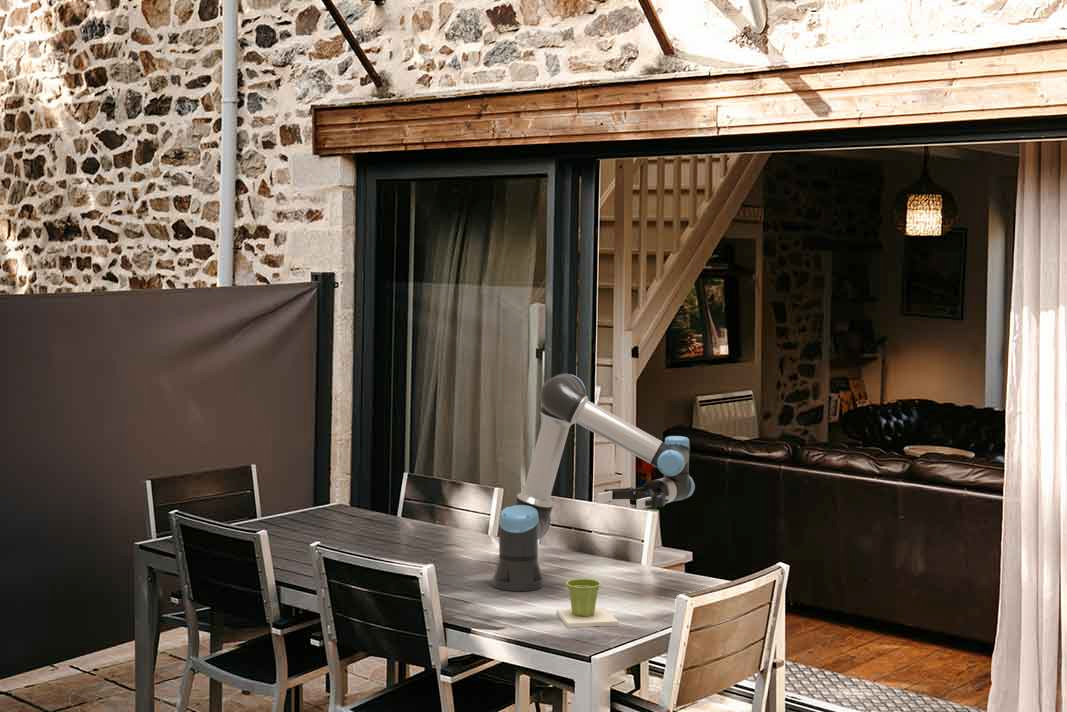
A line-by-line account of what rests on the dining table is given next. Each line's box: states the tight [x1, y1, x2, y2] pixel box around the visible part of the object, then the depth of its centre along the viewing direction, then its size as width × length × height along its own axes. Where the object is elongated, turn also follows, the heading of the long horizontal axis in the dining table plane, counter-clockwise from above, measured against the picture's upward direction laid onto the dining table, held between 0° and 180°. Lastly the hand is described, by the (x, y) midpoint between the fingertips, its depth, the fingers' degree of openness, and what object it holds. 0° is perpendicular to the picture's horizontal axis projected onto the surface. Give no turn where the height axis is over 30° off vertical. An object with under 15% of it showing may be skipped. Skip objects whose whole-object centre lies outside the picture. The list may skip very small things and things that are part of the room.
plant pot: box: [566, 578, 602, 617], centre depth 342 cm, size 9×9×9 cm
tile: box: [556, 607, 619, 629], centre depth 341 cm, size 14×14×1 cm
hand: (617, 501), depth 354 cm, fingers open, 13 cm apart
